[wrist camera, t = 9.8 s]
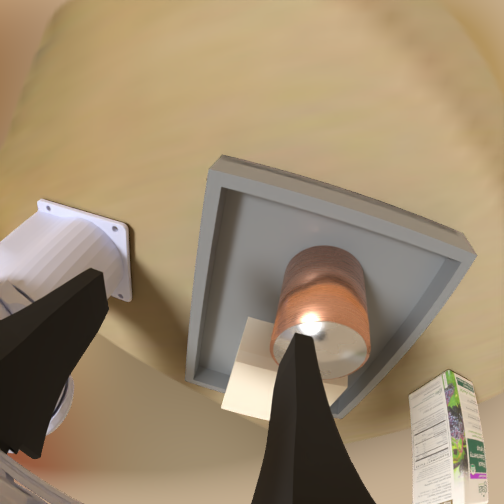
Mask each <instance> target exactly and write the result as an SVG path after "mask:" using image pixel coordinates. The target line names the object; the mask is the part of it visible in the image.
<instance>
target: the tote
mask: <svg viewBox="0 0 504 504" xmlns="http://www.w3.org/2000/svg"><path fill="white" fill-rule="evenodd" d="M321 245H327V246H334V247H338V248H341V249H344V250H346V251H348V252H349V253H351V254H352V255H353V256H354V257H355V258H356V259H357V260H358V261H359V263H360V264H361V267H362V269H363V273H364V281H365V290H366V299H367V309H368V319H369V331H370V345H371V352H370V356H369V358H368V360H367V361H366V363H365V364H364V365H363V366H362V367H361V368H360V369H358V370H357V371H355V372H353V373H351V374H349V375H348V387H347V388H346V390H345V391H344V392H343V393H342V394H341V395H340V396H339V397H338V398H337V400H336V401H335V402H334V403H333V404H332V405H331V406H330V409H331V412H332V415H333V418H339V419H342V418H343V417H345V416H346V415H347V414H348V413H349V412H350V411H351V410H352V409H353V408H354V407H355V406H356V405H357V404H358V403H359V402H360V401H361V400H362V399H363V398H364V397H365V396H366V395H367V394H368V393H369V392H370V391H371V390H372V389H373V388H374V387H375V386H376V385H377V384H378V383H379V382H380V381H381V380H382V379H383V378H384V377H385V376H386V375H387V374H388V373H389V371H390V370H391V369H392V368H393V367H394V366H395V365H396V364H397V363H398V361H399V360H400V359H401V358H402V357H403V356H404V355H405V353H406V352H407V351H408V350H409V349H410V348H411V346H412V345H413V344H414V343H415V342H416V340H417V339H418V338H419V337H420V336H421V334H422V333H423V332H424V331H425V329H426V328H427V327H428V326H429V324H430V323H431V322H432V320H433V319H434V318H435V316H436V315H437V314H438V312H439V311H440V310H441V308H442V307H443V306H444V304H445V303H446V302H447V300H448V299H449V297H450V296H451V295H452V293H453V292H454V290H455V289H456V287H457V286H458V284H459V283H460V282H461V280H462V279H463V277H464V276H465V274H466V272H467V271H468V269H469V268H470V266H471V265H472V263H473V261H474V260H475V258H476V257H477V254H476V253H475V251H474V249H473V248H472V246H471V245H470V243H469V241H468V240H467V238H466V237H465V235H464V234H463V233H461V232H459V231H456V230H454V229H451V228H449V227H447V226H444V225H442V224H439V223H437V222H434V221H432V220H429V219H427V218H424V217H422V216H419V215H417V214H414V213H411V212H409V211H406V210H403V209H401V208H398V207H395V206H393V205H390V204H387V203H384V202H381V201H379V200H376V199H373V198H370V197H367V196H364V195H361V194H358V193H355V192H352V191H349V190H346V189H343V188H340V187H337V186H334V185H331V184H327V183H324V182H321V181H318V180H314V179H311V178H308V177H304V176H301V175H297V174H294V173H290V172H287V171H283V170H280V169H276V168H273V167H269V166H265V165H261V164H258V163H254V162H250V161H246V160H242V159H238V158H234V157H230V156H226V155H222V156H221V157H220V158H219V159H218V160H217V161H216V162H215V163H214V164H213V165H212V166H211V167H210V168H209V171H208V177H207V184H206V190H205V197H204V204H203V211H202V218H201V226H200V233H199V241H198V249H197V257H196V266H195V274H194V283H193V293H192V302H191V312H190V323H189V334H188V345H187V358H186V371H185V381H187V382H190V383H193V384H196V385H199V386H202V387H205V388H209V389H212V390H215V391H219V392H222V393H225V392H226V389H227V385H228V382H229V378H230V375H231V371H232V368H233V365H234V362H235V358H236V355H237V352H238V349H239V345H240V342H241V339H242V335H243V332H244V329H245V326H246V322H247V319H248V317H251V318H255V319H258V320H262V321H265V322H269V323H273V324H274V323H275V318H276V314H277V309H278V304H279V299H280V294H281V289H282V284H283V279H284V274H285V270H286V267H287V265H288V263H289V261H290V260H291V259H292V258H293V257H294V256H295V255H296V254H298V253H299V252H301V251H303V250H305V249H307V248H310V247H314V246H321Z"/></svg>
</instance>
